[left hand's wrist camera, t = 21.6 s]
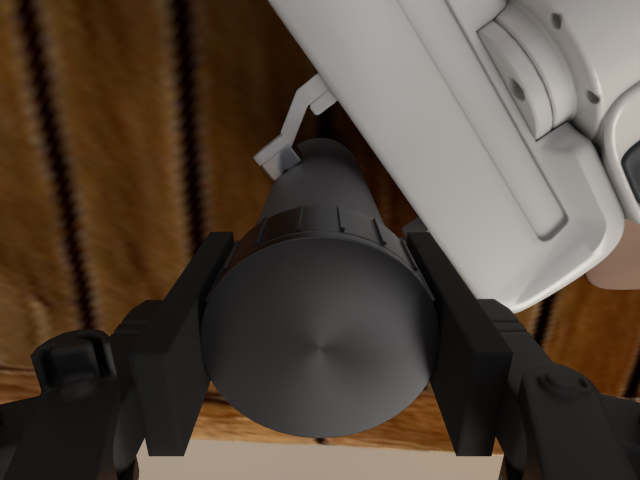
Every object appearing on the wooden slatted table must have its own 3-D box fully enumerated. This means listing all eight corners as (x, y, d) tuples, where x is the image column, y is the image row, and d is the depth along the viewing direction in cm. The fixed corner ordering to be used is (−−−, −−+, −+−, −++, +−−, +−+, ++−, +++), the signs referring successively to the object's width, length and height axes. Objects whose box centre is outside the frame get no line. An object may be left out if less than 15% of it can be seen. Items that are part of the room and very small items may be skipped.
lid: (462, 265, 12) (495, 308, 10) (352, 406, 14) (358, 469, 12) (278, 161, 11) (267, 184, 9) (187, 331, 13) (159, 385, 11)
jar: (277, 138, 26) (210, 240, 10) (361, 137, 26) (427, 237, 10) (281, 217, 28) (230, 408, 12) (359, 217, 28) (411, 406, 12)
